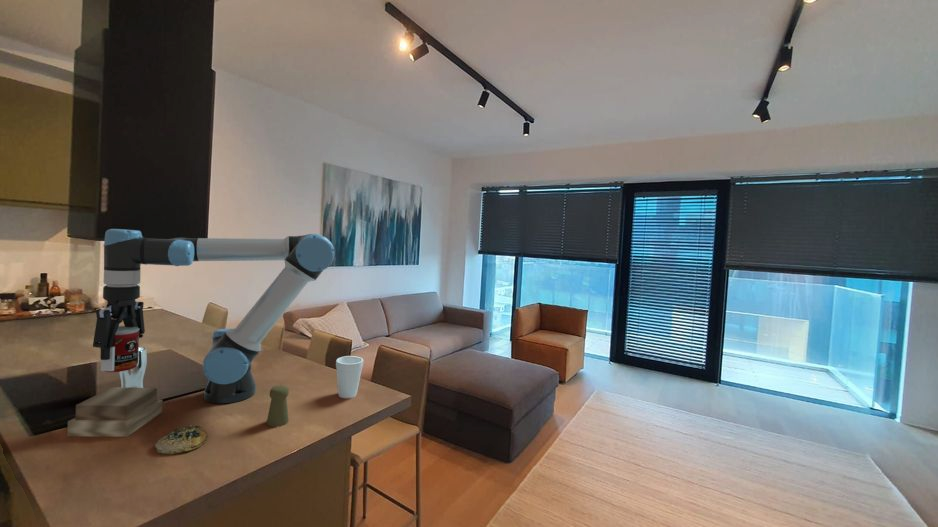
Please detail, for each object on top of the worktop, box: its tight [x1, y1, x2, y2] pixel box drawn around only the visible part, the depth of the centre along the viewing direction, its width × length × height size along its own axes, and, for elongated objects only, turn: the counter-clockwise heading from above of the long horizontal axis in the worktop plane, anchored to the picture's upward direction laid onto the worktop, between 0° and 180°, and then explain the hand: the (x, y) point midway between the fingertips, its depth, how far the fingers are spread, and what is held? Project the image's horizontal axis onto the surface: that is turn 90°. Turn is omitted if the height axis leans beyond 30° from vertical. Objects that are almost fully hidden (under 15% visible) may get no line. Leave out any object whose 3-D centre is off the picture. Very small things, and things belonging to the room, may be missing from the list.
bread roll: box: [154, 424, 209, 455], centre depth 99 cm, size 11×11×5 cm
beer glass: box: [118, 346, 148, 388], centre depth 124 cm, size 7×7×15 cm
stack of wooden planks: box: [67, 386, 164, 438], centre depth 106 cm, size 14×14×8 cm
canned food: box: [104, 325, 140, 373], centre depth 105 cm, size 8×8×11 cm
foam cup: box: [335, 355, 364, 399], centre depth 137 cm, size 10×9×13 cm
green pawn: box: [266, 384, 290, 428], centre depth 114 cm, size 6×6×11 cm
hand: (119, 365), depth 105 cm, fingers closed on canned food, 8 cm apart
